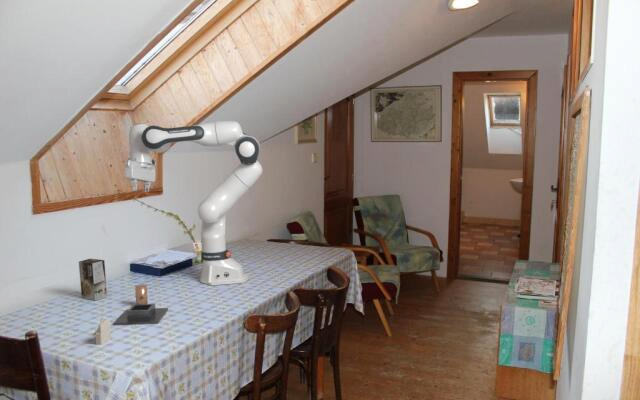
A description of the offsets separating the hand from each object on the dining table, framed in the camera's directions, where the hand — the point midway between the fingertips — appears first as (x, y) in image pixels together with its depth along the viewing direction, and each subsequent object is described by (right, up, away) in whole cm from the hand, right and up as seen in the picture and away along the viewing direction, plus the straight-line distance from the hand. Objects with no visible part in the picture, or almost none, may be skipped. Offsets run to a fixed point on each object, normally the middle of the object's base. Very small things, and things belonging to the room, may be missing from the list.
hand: (141, 191), depth 250 cm
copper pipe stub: (+8, -46, -24) cm, 53 cm away
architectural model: (+7, -52, -62) cm, 81 cm away
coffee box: (-17, -46, -11) cm, 50 cm away
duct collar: (+12, -48, -38) cm, 63 cm away
